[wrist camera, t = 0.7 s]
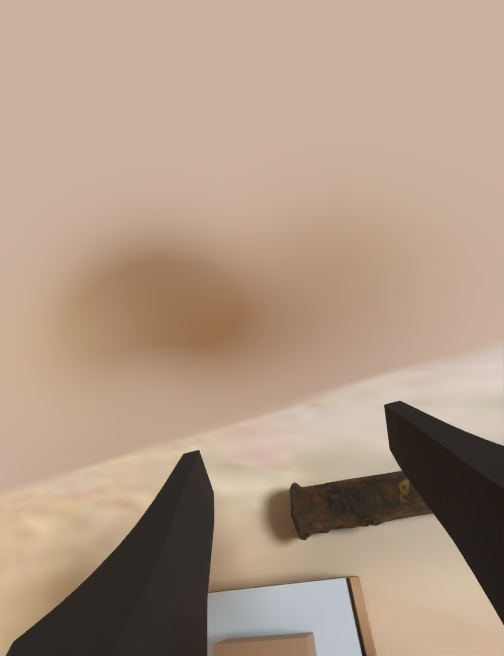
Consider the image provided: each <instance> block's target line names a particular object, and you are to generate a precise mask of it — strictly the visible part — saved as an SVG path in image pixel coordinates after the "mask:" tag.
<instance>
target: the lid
mask: <svg viewBox="0 0 504 656" xmlns="http://www.w3.org/2000/svg"><path fill="white" fill-rule="evenodd" d="M207 656H363V653H362V648H361V643H360V639H359V634H358V629H357V625H356V620H355V615H354V611H353V606H352V601H351V597H350V592H349V587H348V583H347V578H339V579H330V580H321V581H312V582H303V583H294V584H285V585H277V586H268V587H259V588H250V589H241V590H232V591H223V592H214V593H208V600H207Z"/></svg>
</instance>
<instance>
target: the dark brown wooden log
mask: <svg viewBox="0 0 504 656" xmlns="http://www.w3.org/2000/svg"><path fill="white" fill-rule="evenodd" d="M290 497H291V516H292V518H293V520H294V524H295V528H296V530H297V532H298V535H299V538H300V539H302V540H306V539H307V538H308V537H309V536H311V535H312V534H313V533H314V532H320V533H328V532H329V531H330V530H331V529H340V528H346V527H347V528H353V527H357V526H369V524H370V525H375V526H376V525H379V524H382V523H383V522H385V521H390V520H394V519H400V518H406V517H412V516H417V515H423V514H429V513H433V512H432V511H431V510H430V508H429V507H428V506H427V504H426V503H425V502H424V500H423V499H422V498H421V496H420V495H419V494H418V492H417V491H416V489H415V488H414V487H413V485H412V484H411V483H410V481H409V480H408V479H407V477H406V476H405V475H404V473H403V471H398V472H392V473H386V474H380V475H373V476H367V477H361V478H354V479H347V480H341V481H336V482H330V483H325V484H321V485H314V486H308V487H301V486H299V485H298V484H297V483H293V484H292V485H291V488H290Z"/></svg>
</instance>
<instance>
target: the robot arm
mask: <svg viewBox="0 0 504 656" xmlns="http://www.w3.org/2000/svg"><path fill="white" fill-rule="evenodd" d="M384 408H385V415H386V423H387V431H388V439H389V447H390V450H391V452H392V454H393V456H394V458H395V459H396V461H397V463H398V465H399V466H400V468H401V470H402V471H403V473H404V475H405V476H406V477H407V479H408V480H409V481H410V483H411V484H412V485H413V487H414V488H415V489H416V491H417V492H418V494H419V495H420V496H421V498H422V499H423V500H424V502H425V503H426V504H427V506H428V507H429V508H430V510H431V511H432V512H433V514H434V515H435V516H436V518H437V519H438V520H439V522H440V523H441V524H442V526H443V527H444V528H445V530H446V531H447V533H448V534H449V535H450V537H451V538H452V540H453V541H454V543H455V544H456V546H457V548H458V549H459V551H460V552H461V554H462V556H463V557H464V559H465V560H466V562H467V564H468V565H469V567H470V569H471V570H472V572H473V573H474V575H475V577H476V578H477V580H478V582H479V583H480V585H481V587H482V589H483V590H484V592H485V594H486V595H487V597H488V599H489V600H490V602H491V604H492V605H493V607H494V609H495V611H496V612H497V614H498V616H499V618H500V619H501V621H502V623H503V625H504V446H502V445H499V444H496V443H494V442H491V441H488V440H485V439H483V438H480V437H478V436H475V435H473V434H470V433H468V432H466V431H463V430H461V429H459V428H456V427H454V426H452V425H450V424H447V423H445V422H443V421H441V420H439V419H437V418H435V417H433V416H430V415H428V414H426V413H424V412H422V411H420V410H418V409H416V408H414V407H412V406H410V405H408V404H406V403H404V402H401V401H397V402H393V403H389V404H385V405H384ZM213 529H214V492H213V489H212V486H211V483H210V480H209V477H208V474H207V472H206V469H205V466H204V463H203V460H202V457H201V454H200V451H199V450H197V451H193V452H189V453H185V454H183V456H182V457H181V459H180V460H179V462H178V463H177V465H176V467H175V468H174V470H173V471H172V473H171V475H170V476H169V478H168V479H167V481H166V483H165V484H164V486H163V487H162V489H161V490H160V492H159V493H158V495H157V496H156V498H155V499H154V501H153V502H152V504H151V505H150V506H149V508H148V509H147V511H146V512H145V513H144V515H143V516H142V518H141V519H140V520H139V522H138V523H137V524H136V525H135V527H134V528H133V529H132V530H131V532H130V533H129V534H128V535H127V536H126V538H125V539H124V540H123V541H122V542H121V543H120V545H119V546H118V547H117V548H116V549H115V550H114V551H113V552H112V553H111V554H110V555H109V557H108V558H107V559H106V560H105V561H104V562H103V563H102V564H101V565H100V566H99V567H98V568H97V569H96V570H95V571H94V572H93V573H92V574H91V575H90V576H89V577H88V578H87V579H86V580H85V581H84V582H83V583H82V584H81V585H80V586H79V587H78V588H77V589H76V590H75V591H73V592H72V593H71V594H70V595H69V596H68V597H67V598H66V599H65V600H63V601H62V602H61V603H60V604H59V605H58V606H57V607H55V608H54V609H53V610H52V611H51V612H50V613H48V614H47V615H46V616H45V617H43V618H42V619H41V620H40V621H39V622H37V623H36V624H35V625H34V626H32V627H31V628H30V629H29V630H28V631H26V632H25V633H24V634H23V635H21V636H20V637H19V638H18V639H16V640H15V641H14V642H13V644H12V645H11V647H10V649H9V651H8V653H7V655H6V656H207V600H208V584H209V573H210V562H211V551H212V541H213Z"/></svg>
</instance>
